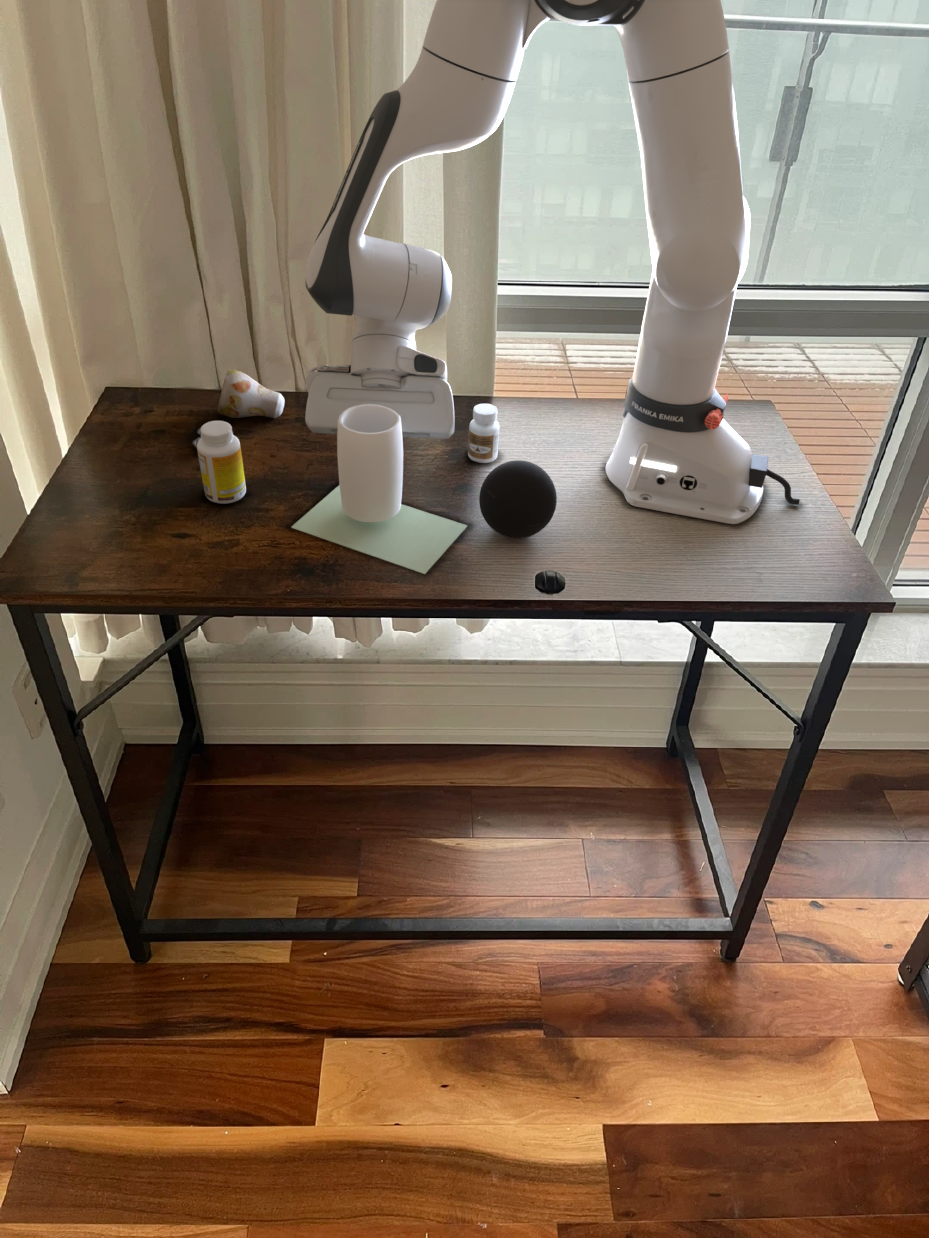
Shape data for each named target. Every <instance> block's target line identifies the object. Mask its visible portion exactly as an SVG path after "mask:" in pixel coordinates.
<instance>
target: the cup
mask: <svg viewBox="0 0 929 1238" xmlns="http://www.w3.org/2000/svg"><path fill="white" fill-rule="evenodd" d="M403 439H404V437H402V426H401V418H400V416H399V415H398V414H397V413H396V412H395V411H394V410H392V409H390V408H388V407H385V406H381V405H373V404H367V405H358V406H354V407H351V408H348V409H346V410H345V411H344V412H343V413H342V414H341V415H340V416H339V419H338V431H337V434H336V451H337V452H336V456H337V457H336V458H337V471H338V472H337V473H338V483H339V484H338V485H340V493H341V502H342V509H343V511H344V512H345V514H346V515H348V516H349V517H350V518H353V519H355V520H358V521H361V522H381V521H385V520H388V519H390V518H393V517H394V516H395V515H396V514H397V513H398V512H399V511H400V507H401V504H402V498H403V484H404V483H403V481H404V440H403Z"/></svg>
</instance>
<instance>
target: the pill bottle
mask: <svg viewBox="0 0 929 1238" xmlns="http://www.w3.org/2000/svg"><path fill="white" fill-rule="evenodd" d="M472 418H473V419H472V420H471V421H470V422H469V426H468V444H467V456H468V458H469V459H470V461H473V462H476V463H479V464H488V463H493V462H494V461H495V460H496V459H497V458H498V452H499V439H500V424H499V421H498V408H497V406H495V405H493V404H490V403H478V404H476V405H474V407H473V410H472Z"/></svg>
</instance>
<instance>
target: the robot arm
mask: <svg viewBox="0 0 929 1238" xmlns="http://www.w3.org/2000/svg"><path fill="white" fill-rule="evenodd" d="M723 9H724V8H723V5H722V1H721V0H436V1H435V3H434V7H433V10H432V13H431V16H430V19H429V22H428V26H427V27H426V33H425V36H424V40H423V44H422V46H421V51H420V53H419V56H418V59H417V62H416V64H415V65H414V68H413V69H412V71H411V72H410V74H409V75H408V77H407V78H406V79H405V81H404V82H403V83H402V84H401V85H400V86H399V87H398V88H397V89H395V90H392V91H389V92H386V93H385V92H384V94H383V95H382V96H381V97H380V98H379V100H378V101H377V103H376V104H375V106H374V108H373V110H372V111H371V114H370V115H369V118H368V120H367V122H366V124H365V126H364V129H363V130H362V133H361V135H360V137H359V139H358V142H357V145H356V147H355V149H354V152H353V154H352V156H351V158H350V161H349V164H348V167H347V169H346V172H345V174H344V177H343V178H342V181H341V184H340V186H339V188H338V191H337V193H336V196H335V199H334V200H333V203H332V206H331V208H330V211H329V213H328V215H327V217H326V219H325V221H324V223H323V225H322V227H321V228H320V231H319V233H318V235H317V236H316V239H315V240H314V243H313V245H312V247H311V249H310V252H309V255H308V257H307V260H306V265H305V278H304V279H305V281H304V282H305V288H306V291H307V293H309V295H310V297H311V298H312V300H314V302H315V303H316V305H318V307H319V308H320V309H321V310H322V311H324V312H325V314H330V315H341V316H349V317H351V316H353V319H354V320H353V321H354V333H353V334H352V338H351V348H350V364H349V365H348V364H335V365H334V364H333V365H329V364H325V363H324V364H323V363H321V364H317V365H316V366H315V367H313V368H311V369H309V370H308V372H307V373H306V375H305V386H304V387H305V391H306V394H307V395H308V396H307V401H306V406H305V415H304V423H305V425H306V427H307V428H308V429H309V430H310V432H311V433H313V434H324V435H325V434H326V435H327V434H328V435H337V431H338V419H339V416H340V415H341V414H342V413H343V412H344V411H345V410H346V409H348V408H351V407H354V406H358V405H367V404H373V405H381V406H385V407H388V408H390V409H392V410H394V411H395V412H396V413H397V414H398V415H399V416H400V418H401V426H402V437H403V438H418V439H441V440H447V439H450V438H451V437H452V436H453V435H454V433H455V429H456V428H455V424H456V423H455V418H456V417H455V404H454V396H453V391H452V388H451V385H450V384H449V382H448V381H447V380H448V367H447V364H446V362H445V361H444V360H443V359H441V358H438V357H435V356H432V355H430V354H427V353H425V352H423V351H422V352H421V351H419V350H417V343H416V339H415V338H416V337H415V335H416V332H417V331H418V330H425V329H427V328H429V327H430V326H432V325H434V324H435V323H436V322H438V321H440V319H442V318H443V317H444V316H445V315H446V314H447V313H448V312H449V309H450V306H451V301H452V291H453V275H452V272H451V270H450V268H449V266H448V263H447V261H446V260H445V258H444V257H443V256H442V255H441V253H439V252H436V251H434V250H432V249H429V248H425V247H422V246H416V245H412V244H409V243H403V242H402V243H400V242H397V241H392V240H389V239H388V240H387V239H383V238H379V237H374V236H370V235H367V234H365V230H366V228H367V226H368V224H369V221H370V219H371V217H372V215H373V212H374V210H375V207H376V206H377V203H378V200H379V199H380V196H381V193H382V191H383V190H384V188H385V187H384V186H385V185H386V182H387V180H388V178H389V177H390V175H391V174H392V172H393V171H395V170H396V169H397V168H398V167H399V166H400V165H402V164H404V163H406V162H408V161H410V160H414V159H417V158H420V157H425V156H430V155H436V154H445V153H452V152H453V153H454V152H459V151H462V150H466V149H469V148H472V147H473V146H476V145H478V144H480V143H482V142H483V141H485V140H487V139H488V138H489V137H490V136H491V135H492V134H493V133H494V132H496V130H497V129H498V127H499V126H500V124H501V123H502V121H503V119H504V117H505V115H506V112H507V109H508V108H509V104H510V102H511V99H512V96H513V93H514V89H515V86H516V83H517V80H518V77H519V73H520V70H521V67H522V64H523V60H524V56H525V53H526V51H527V48H528V46H529V43H530V41H531V39H532V37H533V35H534V34H535V33H536V31H537V29H539V27H541V26H542V25H543V24H544V23H546V22H547V21H550V20H558V21H560V22H562V23H565V24H569V25H573V26H579V27H580V26H581V27H591V26H592V27H593V26H602V27H605V26H606V27H608V26H609V27H613V28H614V29H615V31H616V33H617V35H618V38H619V41H620V44H621V48H622V51H623V56H624V61H625V62H624V63H625V69H626V77H627V80H628V82H627V83H628V87H629V94H630V101H631V105H632V106H631V107H632V111H633V118H634V123H635V129H636V134H637V143H638V147H639V151H640V152H639V153H640V154H639V155H640V161H641V163H640V164H641V175H642V184H643V195H644V196H643V197H644V206H645V217H646V224H647V225H646V226H647V233H648V241H649V250H650V256H651V257H650V258H651V264H652V271H651V277H650V281H649V287H648V292H647V297H646V302H645V308H644V313H643V317H642V323H641V328H640V334H639V339H638V347H637V351H636V357H635V363H634V367H633V373H632V377H631V378H630V379H629V380H628V384H627V387H626V391H625V396H624V402H623V415H622V416H623V421H622V425H621V429H620V430H619V434H618V438H617V440H616V442H615V445H614V447H613V450H612V453H611V454H610V457H609V458H608V460H607V462H606V464H605V474H606V476H607V478H608V480H609V481H610V482H611V484H613V485H614V486H615V487H616V488H617V489H618V490H620V491H621V493H622V494H623V496H624V498H625V500H626V502H627V503H628V504H629V505H631V506H633V507H637V508H642V509H647V510H653V511H657V512H658V511H659V512H662V513H663V512H664V513H670V514H675V515H680V516H685V517H690V518H696V519H701V520H706V521H711V522H717V523H723V524H728V525H738V524H740V523H743V522H745V521H746V520H748V519H749V518H751V517H752V516H753V515H754V514H755V512H756V511H757V510H758V509H759V506H760V505H761V502H762V499H763V494H764V483H765V479H766V476H767V477H769V478H771V479H773V480H774V481H775V482H777V483H779V484H781V486H782V487H783V488H784V499H785V501H786V502H787V503H788V504H790V505H797V506H799V504H800V501H801V499H800V498H793V497H792V488H791V485H790V483H789V481H788V480H787V479H786V478H784V477H783V476H781V475H779V474H777V473H776V472H774V471H772V470H770V469H769V468H768V466H769V465H768V464H769V456H767V455H761V454H756V453H752V448H751V446H750V445H749V444H748V442H747V441H745V439H743V437H742V436H740V434H738V433H737V432H736V430H735V429H734V428H733V427H732V426H731V425H730V424H729V423H728V422H727V421H726V419H724V416H725V413H726V409H727V404H728V399H729V394H728V393H726V394H725V395H724V397H722V396H721V395H720V393H719V392H718V390H717V389H716V385H717V380H718V376H719V371H720V367H721V363H722V359H723V354H724V351H725V347H726V343H727V338H728V333H729V329H730V322H731V318H732V312H733V307H734V303H735V300H736V299H735V298H736V293H737V288H738V284H739V283H740V281H741V280H742V278H743V276H744V274H745V272H746V268H747V266H748V261H749V250H750V233H751V211H750V208H749V207H750V206H749V205H748V202H747V199H746V198H745V196H744V190H743V178H742V177H743V176H742V167H741V166H742V165H741V154H740V141H739V126H738V117H737V108H736V100H735V89H734V83H733V73H732V72H733V71H732V64H731V55H730V46H729V39H728V32H727V25H726V20H725V14H724V10H723Z"/></svg>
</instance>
